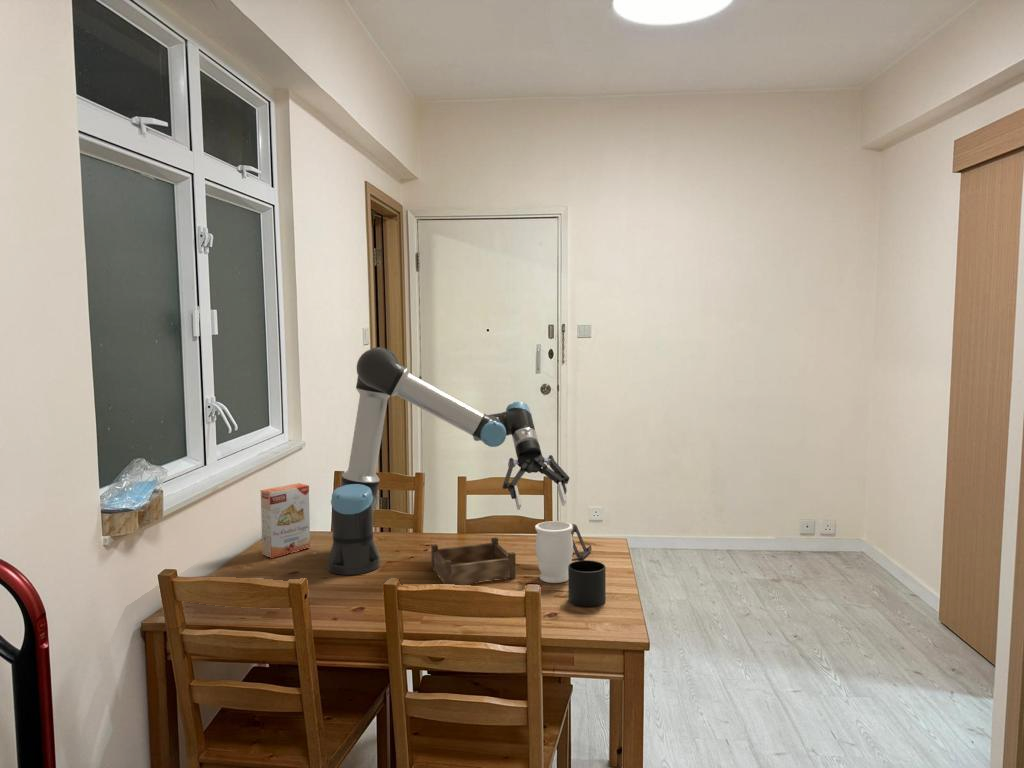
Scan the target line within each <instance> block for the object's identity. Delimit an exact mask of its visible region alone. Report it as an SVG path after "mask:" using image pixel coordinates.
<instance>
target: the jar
mask: <svg viewBox="0 0 1024 768" xmlns="http://www.w3.org/2000/svg"><path fill="white" fill-rule="evenodd" d="M534 528H535V532H536V538H535V556H536V561H537V562H536V563H537V567H538V569H539V571H540V574H539V579H540V580H541V581H543V582H545V583H548V584H560V583H564V582H567V581H568V566H569V564H570V563H572V559H573V553H574V549H573V540H574V538H573V537H572V534H571V531H572V530H573V526H572V524H571V523H569V522H566V521H557V520H552V521H542V522H539V523H537V524H535V527H534ZM572 538H573V539H572Z"/></svg>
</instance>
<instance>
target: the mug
mask: <svg viewBox="0 0 1024 768" xmlns="http://www.w3.org/2000/svg"><path fill="white" fill-rule="evenodd" d="M606 580H607V579H606V565H605V564H604V563H602V562H600V561H595V560H587V559H586V560H585V559H582V560H577V561H573V562H572V561H571V563H570V564H569V566H568V580H567V581H568V584H567V585H568V589H567V590H568V592H567V593H568V601H569V603H570V604H572V605H574V606H578V607H583V608H595V607H599V606H601V605H603V604H605V602H606V601H607V599H606V594H607V593H606V589H607V588H606V587H607V586H606V583H607V581H606Z"/></svg>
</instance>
